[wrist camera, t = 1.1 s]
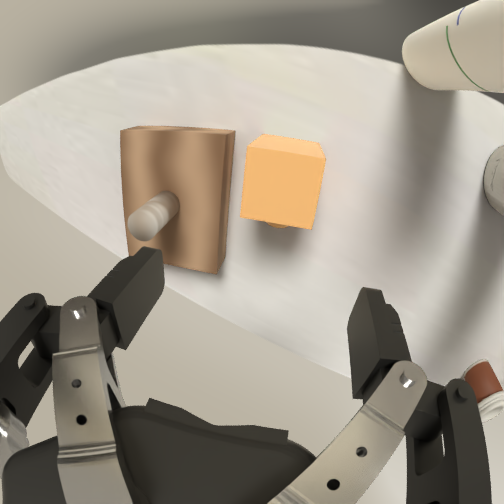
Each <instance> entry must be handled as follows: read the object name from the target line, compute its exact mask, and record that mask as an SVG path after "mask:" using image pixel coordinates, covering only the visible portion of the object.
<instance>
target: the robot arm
mask: <svg viewBox="0 0 504 504" xmlns="http://www.w3.org/2000/svg"><path fill="white" fill-rule="evenodd" d="M484 189H485V194H486V197H487V200H488V202H489V203H490V205H491V206H492V207H493V208H494V209H495V210H497V211H498V212H499V213H500V214H502V215H503V216H504V145H503V146H501V147H499V148H498V149H496V150H495V151H494V152H493V154H492V155H491V157H490V159H489V160H488V163H487V166H486V169H485V174H484ZM164 283H165V279H164V267H163V255H162V251H161V250H160V249H156V248H151V247H146V246H143V247H141V248H140V249H139V251H138V252H137V253H136V254H135V255H134V256H129V257H127V258H125V259H123V260H121V261H120V262H119V263H118V264H117V265H116V266H115V267H114V268H113V270H111V271H110V272H109V273H108V274H107V276H105V277H104V278H103V279H102V281H101V282H100V283H99V284H98V285H97V286H96V287H95V288H94V289H93V290H92V291H91V293H90V294H89V295H88V296H77V297H74V298H71V299H70V300H68V301H67V302H66V303H65V304H64V305H63V306H51V305H50V306H49V305H47V303H46V300H45V298H44V296H43V295H41V294H39V293H31V294H28V295H26V296H24V297H23V298H21V299H20V300H19V301H18V302H17V303H16V304H15V306H14V307H13V308H12V309H11V310H10V311H9V312H8V314H7V315H6V316H5V317H4V318H3V319H2V320H1V322H0V478H1V479H2V491H3V504H355V503H356V502H357V501H358V499H359V498H360V497H361V496H362V495H363V494H364V493H365V491H366V490H367V489H368V488H369V486H370V485H371V484H372V482H373V481H374V480H375V478H376V477H377V476H378V474H379V473H380V472H381V470H382V469H383V467H384V466H385V465H386V463H387V462H388V460H389V459H390V457H391V456H392V454H393V453H394V451H395V450H396V448H397V447H398V445H399V443H400V442H401V440H402V439H403V437H404V435H406V448H407V498H406V504H492V500H491V482H490V471H489V463H488V455H487V448H486V442H485V436H484V431H483V427H482V421H481V416H480V412H479V408H478V404H477V400H476V396H475V392H474V390H473V388H472V387H471V386H470V384H468V383H467V382H466V381H464V380H462V379H453V380H451V381H450V382H449V383H448V384H447V385H446V386H442V385H439V384H436V383H433V382H430V381H427V378H426V375H425V373H424V371H423V370H422V369H421V368H420V367H419V366H418V365H417V364H415V363H413V362H412V361H411V357H410V353H409V350H408V346H407V342H406V339H405V335H404V334H403V329H402V326H401V322H400V319H399V316H398V313H397V312H396V311H395V309H394V308H393V307H392V306H391V304H386V303H385V300H384V297H383V293H382V291H381V290H378V289H372V288H366V287H363V288H362V289H361V290H360V293H359V295H358V298H357V300H356V303H355V305H354V307H353V310H352V312H351V315H350V317H349V321H348V327H347V333H348V343H349V353H350V365H351V378H352V394H353V399H363V406H362V407H361V409H360V410H359V411H358V412H357V413H356V415H355V416H354V417H353V418H352V419H351V421H350V422H349V423H348V424H347V425H346V426H345V428H344V429H343V430H342V431H341V432H340V433H339V435H337V437H336V438H335V439H334V440H333V441H332V442H331V443H330V444H329V445H328V446H327V447H326V448H325V449H324V450H323V451H322V452H321V453H320V454H319V455H318V456H317V457H315V456H314V455H313V454H312V453H311V452H310V451H308V450H307V449H306V448H304V447H303V446H301V445H299V444H297V443H295V442H293V441H291V440H288V439H287V437H288V430H280V429H273V428H267V427H261V426H255V425H245V426H244V425H241V426H217V425H213V424H210V423H208V422H206V421H204V420H202V419H200V418H198V417H197V416H195V415H193V414H191V413H189V412H188V411H186V410H184V409H182V408H179V407H176V406H173V405H170V404H166V403H163V402H160V401H157V400H154V399H152V398H149V400H148V402H147V404H146V406H127V407H126V405H125V402H124V399H123V397H122V394H121V390H120V385H119V381H118V376H117V371H116V366H115V361H114V356H113V353H112V352H113V350H114V348H115V347H119V348H121V349H124V350H126V349H127V347H128V346H129V344H130V343H131V341H132V339H133V338H134V336H135V335H136V333H137V331H138V330H139V328H140V326H141V325H142V324H143V322H144V320H145V319H146V317H147V316H148V314H149V313H150V311H151V310H152V308H153V306H154V305H155V304H156V302H157V300H158V299H159V297H160V296H161V294H162V292H163V289H164ZM30 341H31V342H32V344H33V346H34V348H33V350H32V351H31V353H30V354H29V355H28V357H27V358H26V360H25V361H24V363H23V364H22V366H21V367H20V369H19V367H18V359H19V356H20V355H21V353H22V352H23V350H24V349H25V348H26V346H27V345H28V344H29V342H30ZM52 380H53V397H54V409H55V420H56V428H57V436H55V437H52V438H50V439H47V440H45V441H43V442H40V443H37V444H35V445H32V446H30V447H28V446H29V441H28V439H27V438H26V437H27V432H26V427H27V425H28V423H29V421H30V419H31V417H32V415H33V413H34V412H35V410H36V408H37V406H38V404H39V403H40V401H41V399H42V397H43V396H44V394H45V392H46V390H47V389H48V387H49V385H50V384H51V382H52ZM442 434H443V438H444V448H445V455H443V446H442V445H443V444H442V436H441V435H442Z"/></svg>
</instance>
